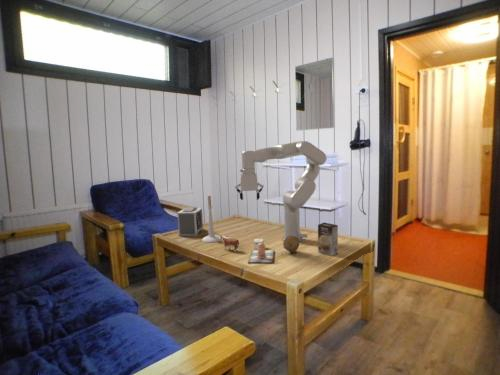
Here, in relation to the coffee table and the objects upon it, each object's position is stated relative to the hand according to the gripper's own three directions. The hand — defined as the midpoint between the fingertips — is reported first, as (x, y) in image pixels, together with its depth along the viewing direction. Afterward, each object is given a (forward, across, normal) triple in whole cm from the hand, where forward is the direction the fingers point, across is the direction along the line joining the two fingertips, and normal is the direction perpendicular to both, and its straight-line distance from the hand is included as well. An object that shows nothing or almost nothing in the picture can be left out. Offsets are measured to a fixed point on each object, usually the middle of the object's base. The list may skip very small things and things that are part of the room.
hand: (249, 199), depth 185 cm
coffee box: (+28, +44, -14) cm, 54 cm away
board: (+28, +8, -21) cm, 36 cm away
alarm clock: (+29, -48, +29) cm, 63 cm away
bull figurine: (+29, -12, -9) cm, 32 cm away
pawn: (+28, +8, -23) cm, 37 cm away
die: (+28, +5, -6) cm, 29 cm away
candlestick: (+28, -28, +11) cm, 41 cm away
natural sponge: (+28, +24, -14) cm, 40 cm away
